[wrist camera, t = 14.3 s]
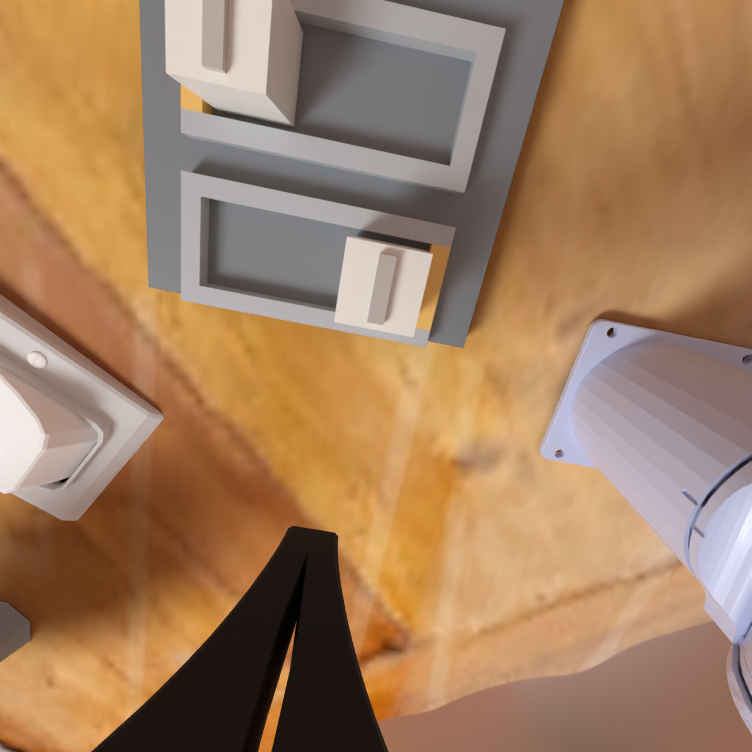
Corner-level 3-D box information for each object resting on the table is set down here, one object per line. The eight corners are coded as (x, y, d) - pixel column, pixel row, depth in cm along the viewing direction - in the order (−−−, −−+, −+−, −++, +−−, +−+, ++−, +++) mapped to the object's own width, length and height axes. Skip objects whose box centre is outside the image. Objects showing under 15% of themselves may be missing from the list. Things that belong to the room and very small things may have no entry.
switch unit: (603, -170, 12) (641, -242, 11) (458, 342, 19) (466, 354, 17) (152, -288, 12) (108, -386, 10) (163, 285, 18) (138, 292, 16)
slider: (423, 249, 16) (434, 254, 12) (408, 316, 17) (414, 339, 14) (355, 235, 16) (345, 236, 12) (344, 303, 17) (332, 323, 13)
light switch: (42, 559, 21) (-220, 429, 18) (91, 508, 25) (-116, 391, 22) (139, 444, 18) (-152, 259, 15) (178, 405, 22) (-45, 250, 19)
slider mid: (303, 32, 14) (271, -44, 10) (294, 127, 15) (262, 91, 11) (221, 13, 13) (157, -71, 10) (218, 110, 15) (160, 69, 11)
